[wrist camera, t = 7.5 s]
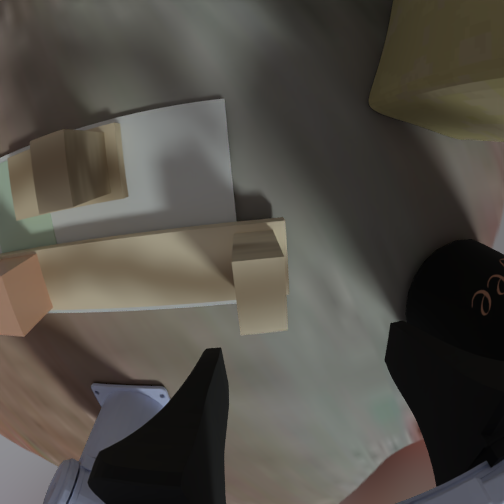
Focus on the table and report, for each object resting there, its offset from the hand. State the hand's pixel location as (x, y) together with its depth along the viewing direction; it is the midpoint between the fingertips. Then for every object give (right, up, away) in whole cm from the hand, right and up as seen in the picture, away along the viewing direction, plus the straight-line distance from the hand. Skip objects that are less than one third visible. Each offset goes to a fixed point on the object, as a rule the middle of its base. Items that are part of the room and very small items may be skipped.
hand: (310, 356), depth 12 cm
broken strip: (-23, +9, +7) cm, 25 cm away
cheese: (+11, +24, +3) cm, 27 cm away
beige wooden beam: (-12, +3, +9) cm, 16 cm away
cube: (-21, +2, +7) cm, 22 cm away
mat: (-19, +6, +8) cm, 22 cm away
